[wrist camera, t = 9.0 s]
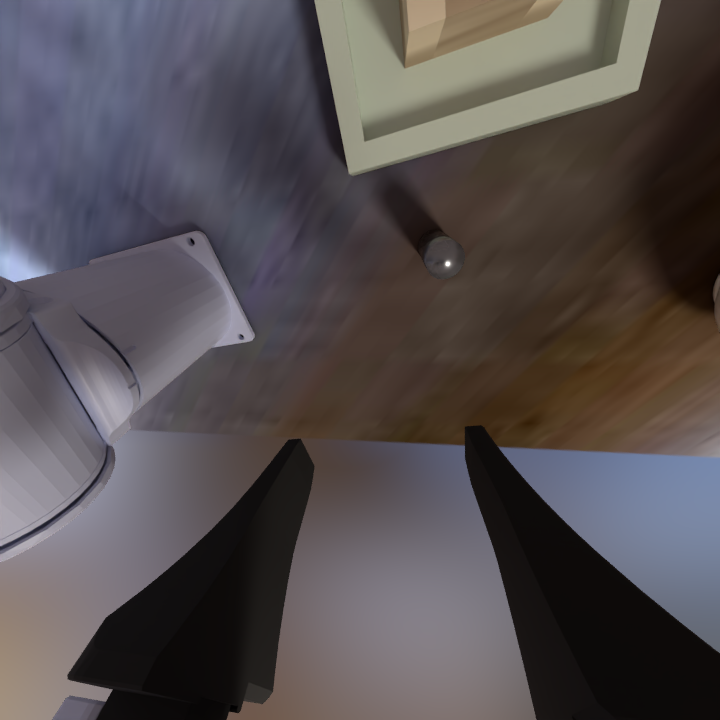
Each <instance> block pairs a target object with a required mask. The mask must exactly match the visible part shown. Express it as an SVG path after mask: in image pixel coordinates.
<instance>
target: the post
mask: <svg viewBox="0 0 720 720" xmlns="http://www.w3.org/2000/svg"><path fill="white" fill-rule="evenodd" d="M418 250H419V254H420V256H421V258H422V260H423V262H424V264H425V266H426V268H427V270H428V272H429V273H430V274H431V275H432V276H433V277H435V278H437V279H447V278H450V277H452V276H454V275H455V274H457V273H458V272H459V271H460V269H461V268H462V266H463V263H464V260H465V253H464V250H463V248H462V246H461V245H460V244H459V243H458V242H456V241H455V240H453V239H452V238H450V237H449V236H448V235H446V234H445V233H443V232H442V231H440V230H431V231H429V232H427V233H426V234H424V235H423V236H422V238H421V239H420V242H419V245H418Z"/></svg>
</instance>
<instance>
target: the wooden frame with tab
mask: <svg viewBox="0 0 720 720" xmlns="http://www.w3.org/2000/svg"><path fill="white" fill-rule="evenodd" d="M562 1H563V0H399V9H400V21H401V32H402V44H403V55H404V67H405V68H408V67H411V66H414V65H417V64H420V63H422V62H425V61H428V60H431V59H434V58H436V57H439V56H442V55H445V54H448V53H451V52H453V51H456V50H459V49H462V48H465V47H467V46H470V45H473V44H476V43H479V42H481V41H484V40H487V39H490V38H493V37H496V36H498V35H501V34H504V33H507V32H510V31H512V30H515V29H518V28H521V27H524V26H527V25H529V24H532V23H535V22H538V21H541V20H543V19H546V18H548V17H549V16H550V15H551V14H552V13H553V11H554V10H555V9H556V8H557V7H558V6H559V5H560V4H561V2H562Z"/></svg>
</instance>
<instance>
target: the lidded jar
mask: <svg viewBox="0 0 720 720" xmlns="http://www.w3.org/2000/svg"><path fill="white" fill-rule="evenodd" d="M713 300H714V303H715V306H714V315H715V323H716V325H717V328H718V330H719V332H720V273H719V275H718V277H717V278H716V281H715V284H714V287H713Z"/></svg>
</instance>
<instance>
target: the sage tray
mask: <svg viewBox="0 0 720 720" xmlns="http://www.w3.org/2000/svg"><path fill="white" fill-rule="evenodd" d="M314 1H315V6H316V11H317V16H318V21H319V26H320V31H321V36H322V41H323V46H324V51H325V56H326V61H327V66H328V71H329V76H330V81H331V86H332V91H333V96H334V101H335V106H336V111H337V116H338V121H339V126H340V131H341V136H342V141H343V146H344V151H345V156H346V161H347V166H348V171H349V174H350V175H352V176H356V175H359V174H362V173H366V172H369V171H373V170H376V169H380V168H383V167H387V166H390V165H394V164H397V163H401V162H404V161H408V160H411V159H415V158H418V157H422V156H425V155H429V154H432V153H436V152H439V151H443V150H446V149H450V148H453V147H457V146H460V145H463V144H467V143H470V142H474V141H477V140H481V139H484V138H488V137H491V136H495V135H498V134H502V133H505V132H509V131H512V130H516V129H519V128H523V127H526V126H530V125H533V124H537V123H540V122H544V121H547V120H551V119H554V118H558V117H561V116H564V115H568V114H571V113H575V112H578V111H582V110H585V109H589V108H592V107H596V106H599V105H603V104H606V103H609V102H611V101H613V100H616V99H618V98H620V97H623V96H625V95H628V94H630V93H632V92H635V91H637V90H638V88H639V85H640V81H641V77H642V73H643V69H644V65H645V61H646V57H647V53H648V49H649V45H650V41H651V37H652V33H653V29H654V25H655V21H656V17H657V14H658V10H659V6H660V2H661V0H563V1H562V2H561V4H560V5H559V6H558V7H557V8H556V9H555V10H554V11H553V13H552V14H551V15H550V16H549V17H548V18H546V19H543V20H541V21H538V22H535V23H532V24H529V25H527V26H524V27H521V28H518V29H515V30H512V31H510V32H507V33H504V34H501V35H498V36H496V37H493V38H490V39H487V40H484V41H481V42H479V43H476V44H473V45H470V46H467V47H465V48H462V49H459V50H456V51H453V52H451V53H448V54H445V55H442V56H439V57H436V58H434V59H431V60H428V61H425V62H422V63H420V64H417V65H414V66H411V67H408V68H405V67H404V55H403V44H402V32H401V21H400V9H399V0H314Z"/></svg>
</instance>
